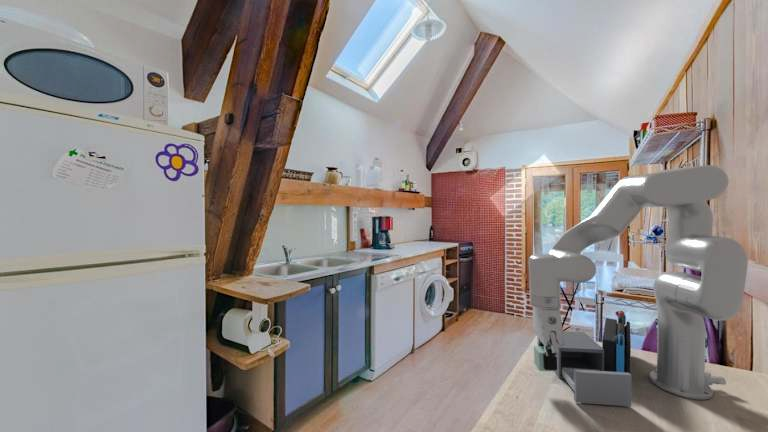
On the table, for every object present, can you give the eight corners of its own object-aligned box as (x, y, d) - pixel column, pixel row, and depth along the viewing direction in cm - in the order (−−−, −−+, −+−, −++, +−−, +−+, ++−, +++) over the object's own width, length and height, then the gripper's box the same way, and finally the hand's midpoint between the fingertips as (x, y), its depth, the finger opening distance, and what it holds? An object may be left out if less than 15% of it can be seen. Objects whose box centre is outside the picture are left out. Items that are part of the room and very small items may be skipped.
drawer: (631, 406, 77) (631, 375, 76) (576, 402, 79) (576, 371, 78) (603, 377, 89) (603, 350, 89) (556, 374, 91) (556, 348, 91)
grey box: (603, 381, 88) (604, 349, 88) (558, 378, 90) (558, 347, 90) (583, 359, 100) (584, 332, 100) (544, 357, 102) (544, 330, 102)
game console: (630, 394, 82) (630, 341, 82) (601, 386, 86) (601, 335, 86) (629, 352, 104) (629, 310, 104) (606, 347, 108) (606, 306, 108)
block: (551, 363, 87) (550, 346, 87) (556, 371, 83) (556, 353, 83) (534, 363, 88) (534, 345, 87) (539, 370, 84) (538, 352, 83)
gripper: (573, 310, 75) (575, 383, 76) (548, 290, 92) (550, 350, 93) (540, 310, 77) (543, 382, 77) (521, 290, 93) (524, 350, 94)
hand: (547, 364), depth 85 cm, fingers closed on block, 3 cm apart
